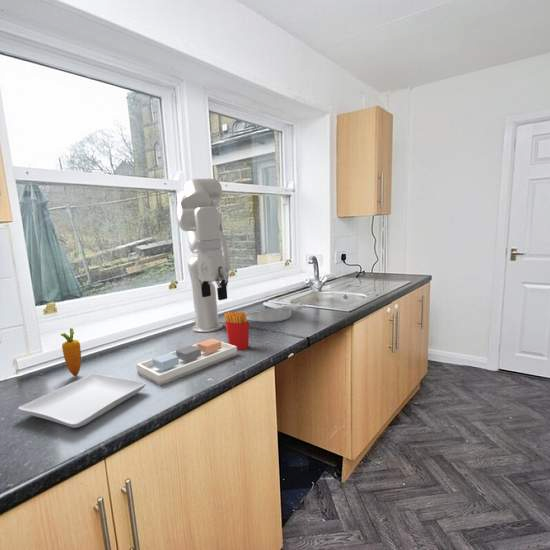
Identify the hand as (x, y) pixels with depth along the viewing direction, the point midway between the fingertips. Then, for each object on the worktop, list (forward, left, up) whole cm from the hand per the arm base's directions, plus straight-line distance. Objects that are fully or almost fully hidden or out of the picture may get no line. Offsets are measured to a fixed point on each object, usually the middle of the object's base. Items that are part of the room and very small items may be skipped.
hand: (214, 297), depth 114 cm
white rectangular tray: (-2, -10, -20) cm, 22 cm away
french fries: (-1, +9, -20) cm, 22 cm away
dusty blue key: (-2, -18, -17) cm, 25 cm away
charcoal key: (-2, -10, -17) cm, 20 cm away
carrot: (-24, -37, -20) cm, 48 cm away
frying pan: (-13, +44, -20) cm, 50 cm away
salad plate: (-1, -41, -20) cm, 46 cm away
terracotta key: (-2, -2, -17) cm, 18 cm away
